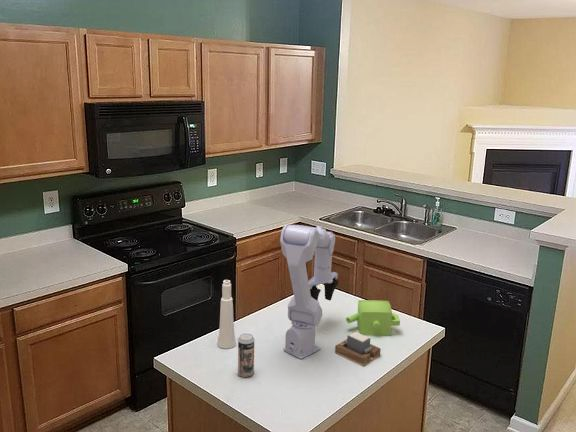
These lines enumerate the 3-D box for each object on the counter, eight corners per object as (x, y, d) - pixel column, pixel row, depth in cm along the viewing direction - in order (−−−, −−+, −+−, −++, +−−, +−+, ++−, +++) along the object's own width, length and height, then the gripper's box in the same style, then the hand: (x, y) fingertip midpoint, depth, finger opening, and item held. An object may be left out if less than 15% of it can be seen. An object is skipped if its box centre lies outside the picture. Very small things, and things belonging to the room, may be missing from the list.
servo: (364, 360, 166) (366, 343, 165) (343, 350, 172) (344, 333, 170) (372, 355, 169) (373, 339, 168) (350, 345, 175) (352, 329, 173)
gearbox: (346, 338, 182) (347, 313, 179) (344, 323, 192) (345, 299, 189) (400, 339, 182) (402, 314, 179) (395, 324, 191) (397, 300, 188)
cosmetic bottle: (237, 340, 177) (237, 277, 171) (234, 349, 171) (234, 285, 165) (219, 339, 177) (219, 276, 172) (215, 348, 172) (215, 284, 166)
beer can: (240, 379, 155) (241, 342, 152) (235, 371, 159) (235, 334, 156) (256, 376, 157) (257, 339, 154) (250, 367, 161) (251, 331, 158)
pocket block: (363, 366, 164) (363, 358, 163) (334, 352, 171) (335, 345, 171) (380, 355, 170) (380, 348, 170) (352, 343, 178) (352, 336, 177)
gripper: (317, 274, 174) (315, 312, 177) (345, 263, 184) (343, 300, 188) (301, 268, 178) (300, 306, 182) (329, 258, 189) (327, 294, 192)
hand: (320, 302), depth 185 cm, fingers open, 7 cm apart
